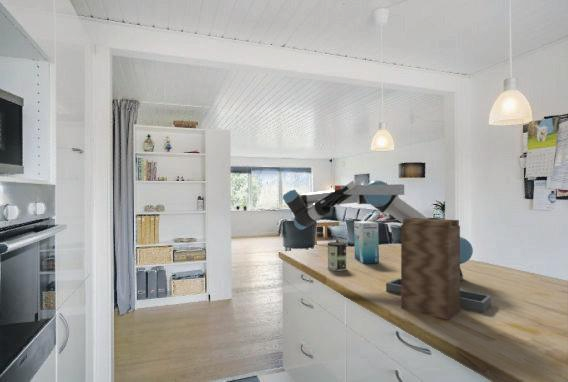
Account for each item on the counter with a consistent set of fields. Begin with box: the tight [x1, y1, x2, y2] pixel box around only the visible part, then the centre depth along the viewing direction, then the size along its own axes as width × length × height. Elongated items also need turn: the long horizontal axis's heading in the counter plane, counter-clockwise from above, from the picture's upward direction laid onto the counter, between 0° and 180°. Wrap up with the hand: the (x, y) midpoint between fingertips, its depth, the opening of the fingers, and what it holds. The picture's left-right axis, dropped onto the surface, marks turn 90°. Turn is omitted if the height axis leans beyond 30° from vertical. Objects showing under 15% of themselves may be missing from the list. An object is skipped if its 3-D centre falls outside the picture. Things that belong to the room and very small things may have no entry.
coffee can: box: [327, 241, 347, 272], centre depth 180 cm, size 10×10×14 cm
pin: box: [334, 184, 405, 196], centre depth 137 cm, size 30×4×4 cm, turn 46°
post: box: [400, 217, 461, 321], centre depth 117 cm, size 16×12×32 cm
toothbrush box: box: [353, 220, 380, 264], centre depth 203 cm, size 18×10×24 cm, turn 4°
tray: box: [385, 278, 492, 314], centre depth 130 cm, size 36×11×4 cm, turn 46°
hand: (357, 183), depth 140 cm, fingers closed on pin, 4 cm apart
